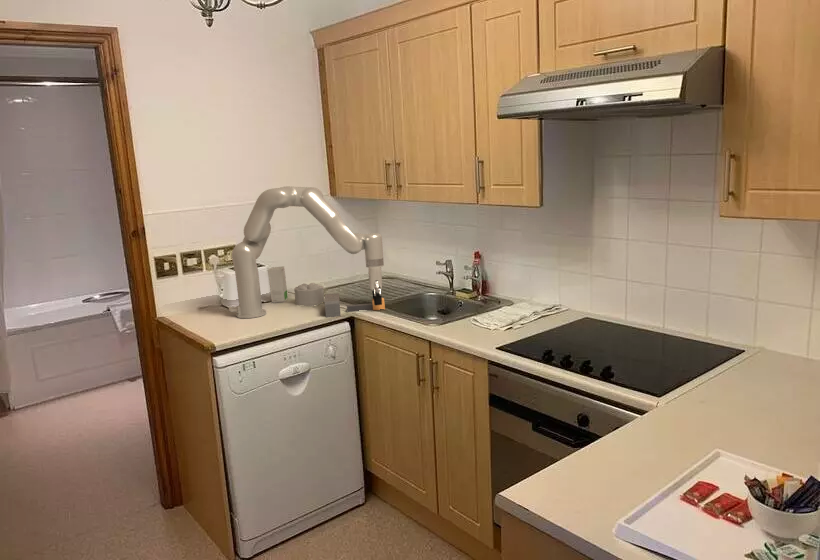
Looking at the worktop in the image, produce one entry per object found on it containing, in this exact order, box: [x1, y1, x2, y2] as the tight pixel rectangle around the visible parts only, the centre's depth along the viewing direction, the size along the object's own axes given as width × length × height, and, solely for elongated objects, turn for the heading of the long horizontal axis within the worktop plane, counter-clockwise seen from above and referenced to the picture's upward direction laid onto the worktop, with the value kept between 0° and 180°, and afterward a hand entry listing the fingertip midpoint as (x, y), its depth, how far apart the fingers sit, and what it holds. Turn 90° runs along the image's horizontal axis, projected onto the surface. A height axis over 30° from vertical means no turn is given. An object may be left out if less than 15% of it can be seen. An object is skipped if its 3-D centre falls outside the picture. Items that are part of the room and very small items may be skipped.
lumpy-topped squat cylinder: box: [294, 282, 325, 307], centre depth 294 cm, size 10×13×9 cm
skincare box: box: [267, 266, 289, 304], centre depth 302 cm, size 8×7×16 cm
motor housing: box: [324, 293, 342, 318], centre depth 274 cm, size 6×14×7 cm, turn 7°
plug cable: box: [346, 297, 386, 313], centre depth 276 cm, size 16×4×4 cm, turn 96°
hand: (377, 302), depth 276 cm, fingers open, 9 cm apart
